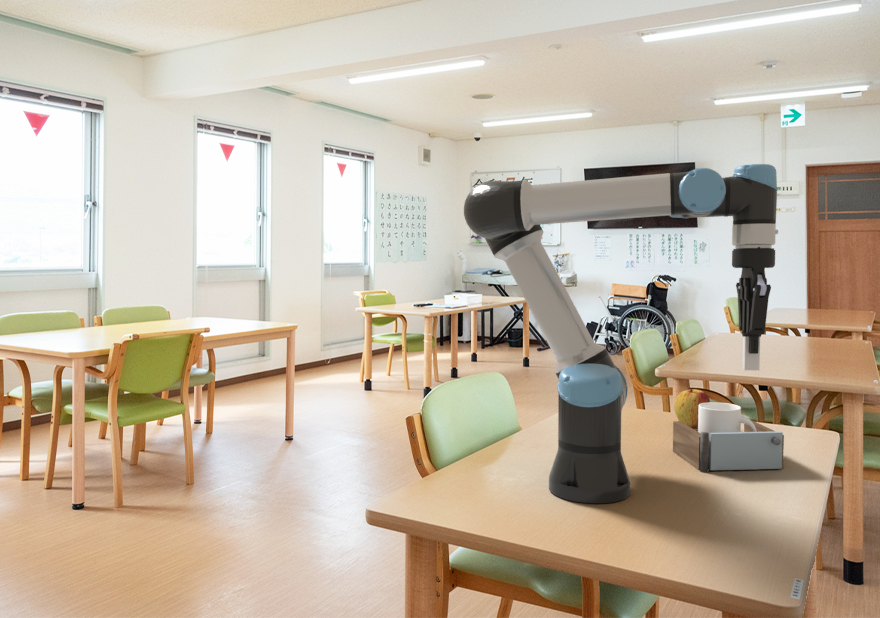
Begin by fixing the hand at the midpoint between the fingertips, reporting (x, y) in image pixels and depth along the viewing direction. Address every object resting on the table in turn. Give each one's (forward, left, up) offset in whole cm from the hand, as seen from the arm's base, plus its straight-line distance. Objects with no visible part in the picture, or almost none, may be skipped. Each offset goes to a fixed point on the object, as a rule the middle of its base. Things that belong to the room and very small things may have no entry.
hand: (750, 369), depth 134 cm
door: (+4, +8, -22) cm, 24 cm away
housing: (+3, +16, -22) cm, 28 cm away
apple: (+8, +46, -23) cm, 52 cm away
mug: (+3, +15, -22) cm, 27 cm away
